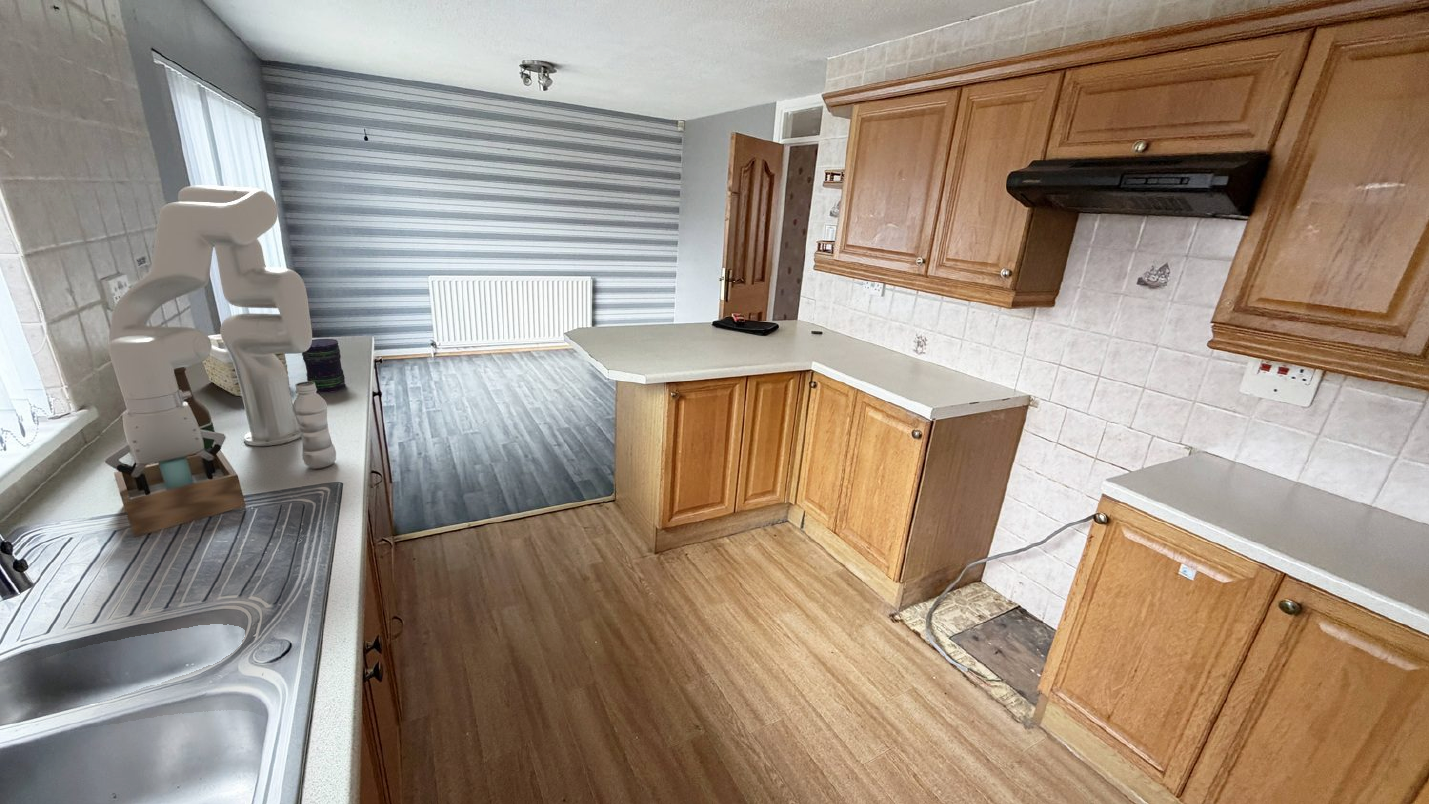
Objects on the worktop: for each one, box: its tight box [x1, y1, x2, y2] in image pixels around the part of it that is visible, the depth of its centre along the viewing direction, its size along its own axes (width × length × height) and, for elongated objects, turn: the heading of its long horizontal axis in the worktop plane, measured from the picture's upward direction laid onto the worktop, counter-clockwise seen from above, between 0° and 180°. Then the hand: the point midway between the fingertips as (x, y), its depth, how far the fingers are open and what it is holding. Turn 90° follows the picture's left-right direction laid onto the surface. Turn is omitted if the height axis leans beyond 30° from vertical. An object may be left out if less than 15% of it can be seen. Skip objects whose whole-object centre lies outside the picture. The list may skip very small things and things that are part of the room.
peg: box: [157, 456, 194, 490], centre depth 111 cm, size 4×4×10 cm
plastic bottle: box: [292, 380, 337, 470], centre depth 127 cm, size 6×7×20 cm
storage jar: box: [301, 338, 347, 394], centre depth 176 cm, size 10×10×15 cm
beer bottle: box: [174, 367, 216, 457], centre depth 122 cm, size 8×8×24 cm
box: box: [113, 449, 246, 538], centre depth 111 cm, size 16×16×7 cm
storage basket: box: [201, 333, 290, 397], centre depth 176 cm, size 24×16×15 cm
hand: (179, 484), depth 111 cm, fingers open, 8 cm apart
